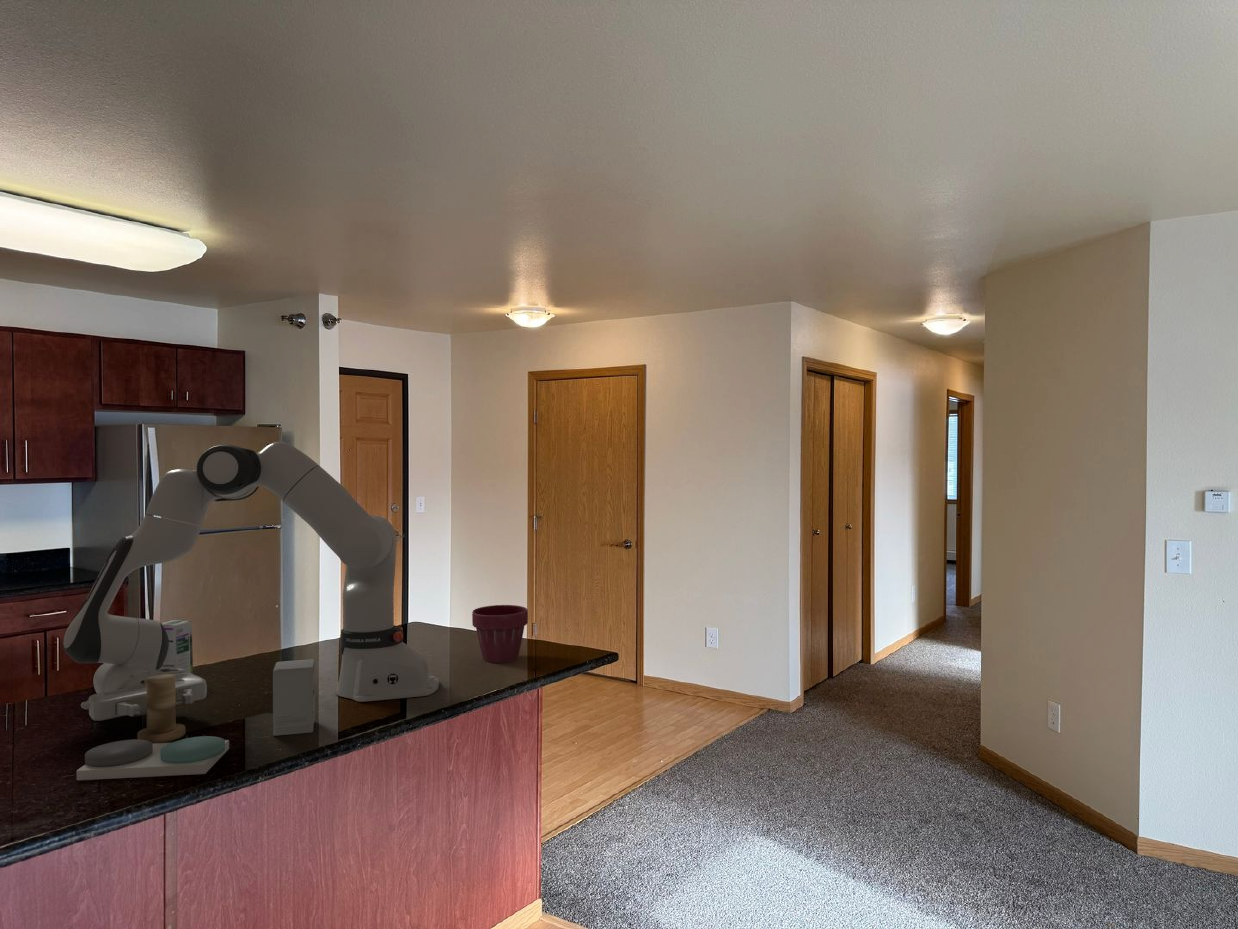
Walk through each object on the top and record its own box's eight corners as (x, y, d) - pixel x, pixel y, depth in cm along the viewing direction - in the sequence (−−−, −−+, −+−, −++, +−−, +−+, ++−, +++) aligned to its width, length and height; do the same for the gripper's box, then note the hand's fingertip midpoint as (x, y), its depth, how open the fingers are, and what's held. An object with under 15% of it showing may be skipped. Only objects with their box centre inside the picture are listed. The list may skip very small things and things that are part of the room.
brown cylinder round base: (191, 728, 164) (191, 671, 164) (175, 742, 156) (174, 682, 156) (148, 730, 163) (147, 673, 163) (129, 744, 155) (128, 684, 155)
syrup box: (176, 688, 192) (175, 625, 192) (153, 687, 193) (153, 624, 193) (193, 681, 198) (193, 620, 198) (171, 680, 199) (171, 619, 199)
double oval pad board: (234, 748, 153) (234, 733, 153) (211, 773, 141) (211, 756, 141) (105, 754, 150) (104, 739, 150) (70, 780, 138) (69, 763, 138)
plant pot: (484, 668, 208) (483, 617, 208) (464, 656, 221) (464, 608, 220) (536, 661, 216) (536, 611, 215) (515, 650, 228) (515, 602, 228)
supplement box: (313, 733, 161) (313, 667, 161) (272, 736, 159) (271, 670, 159) (316, 721, 168) (315, 658, 168) (276, 724, 166) (275, 661, 166)
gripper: (77, 687, 161) (100, 701, 151) (190, 666, 176) (217, 678, 166) (78, 720, 161) (101, 736, 151) (190, 696, 176) (218, 710, 166)
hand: (163, 705), depth 159 cm, fingers open, 8 cm apart
